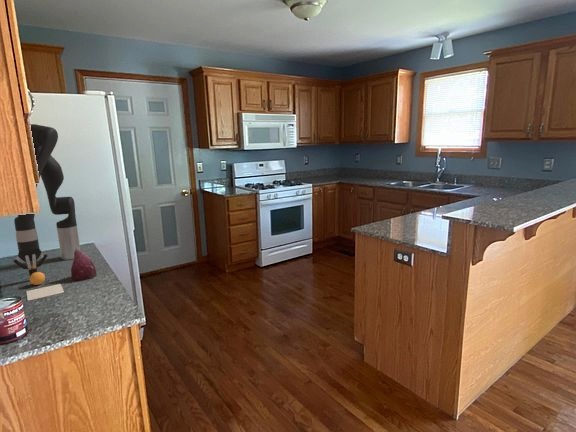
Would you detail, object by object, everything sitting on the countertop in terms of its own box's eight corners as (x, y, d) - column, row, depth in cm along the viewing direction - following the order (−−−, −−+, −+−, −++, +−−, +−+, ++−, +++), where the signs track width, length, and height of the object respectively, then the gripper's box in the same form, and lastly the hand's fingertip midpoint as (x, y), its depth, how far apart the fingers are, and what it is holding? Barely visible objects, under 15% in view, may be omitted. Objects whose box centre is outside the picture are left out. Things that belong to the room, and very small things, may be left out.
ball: (31, 281, 146) (32, 289, 149) (47, 277, 150) (46, 284, 153) (27, 271, 148) (27, 279, 151) (42, 267, 152) (42, 275, 155)
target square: (26, 291, 143) (26, 291, 143) (60, 284, 151) (60, 283, 151) (27, 300, 134) (27, 300, 134) (64, 292, 141) (64, 292, 141)
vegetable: (69, 285, 158) (55, 255, 155) (90, 275, 167) (77, 246, 164) (81, 283, 152) (67, 252, 150) (102, 273, 161) (89, 243, 159)
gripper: (44, 235, 160) (50, 271, 164) (8, 240, 152) (15, 277, 156) (46, 238, 155) (52, 275, 158) (8, 243, 147) (15, 282, 150)
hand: (33, 276), depth 157 cm, fingers closed
